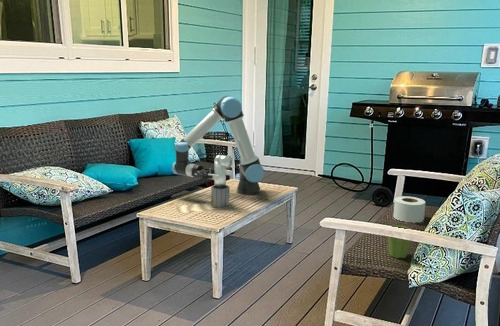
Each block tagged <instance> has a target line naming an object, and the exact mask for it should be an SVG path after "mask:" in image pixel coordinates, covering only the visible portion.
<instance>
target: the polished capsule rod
mask: <svg viewBox="0 0 500 326" xmlns="http://www.w3.org/2000/svg"><path fill="white" fill-rule="evenodd" d="M232 164H233V158H232V156H230V155H225V154H218V155H216V156H215V157H214V163H213V166H214V167H213V168H214V175H218V180H214V188H218V189H222V188H226V185H227V179H226V178H227V175H226V170H227V169H228V168H231V167H232ZM226 168H227V169H226Z"/></svg>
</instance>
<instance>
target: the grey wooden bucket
mask: <svg viewBox="0 0 500 326" xmlns="http://www.w3.org/2000/svg"><path fill="white" fill-rule="evenodd" d="M210 193H211V194H210V196H211V197H210V198H211V201H210V203H211V206H212V207H215V208H221V209H227V208H226V207H229V205H230V186H229V185H227V184H226V188H222V189H218V188H214V185H212V186H211V188H210Z"/></svg>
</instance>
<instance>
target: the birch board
mask: <svg viewBox="0 0 500 326" xmlns="http://www.w3.org/2000/svg"><path fill="white" fill-rule="evenodd" d="M173 207H174V209H175V210H177V212H178V213H179V214H184V213H185V214H186V213H193V212H194V213H195V212H202V211H212V210H219V209H220V210H221V209H222V208H215V207H212V206H211V202H204V203H193V204H186V205H175V206H173ZM230 208H232V206H231V205H230V204H229V207H226V208H225V209H230Z"/></svg>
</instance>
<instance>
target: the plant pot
mask: <svg viewBox="0 0 500 326" xmlns="http://www.w3.org/2000/svg"><path fill="white" fill-rule="evenodd" d="M391 226H392V227H398V228H404V229H411V230H413V229H412V228H409V227H407V226H404V225H403V226H402V225H391ZM387 241H388V242H387V244H388V245H387V246H388V254H389V256H390V257H393V258H395V259H406V258H407V257H408V253H409V249H410V246H411V242H412V240H411V241H407V240H402V239H397V238H392V237H388V236H387Z"/></svg>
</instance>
